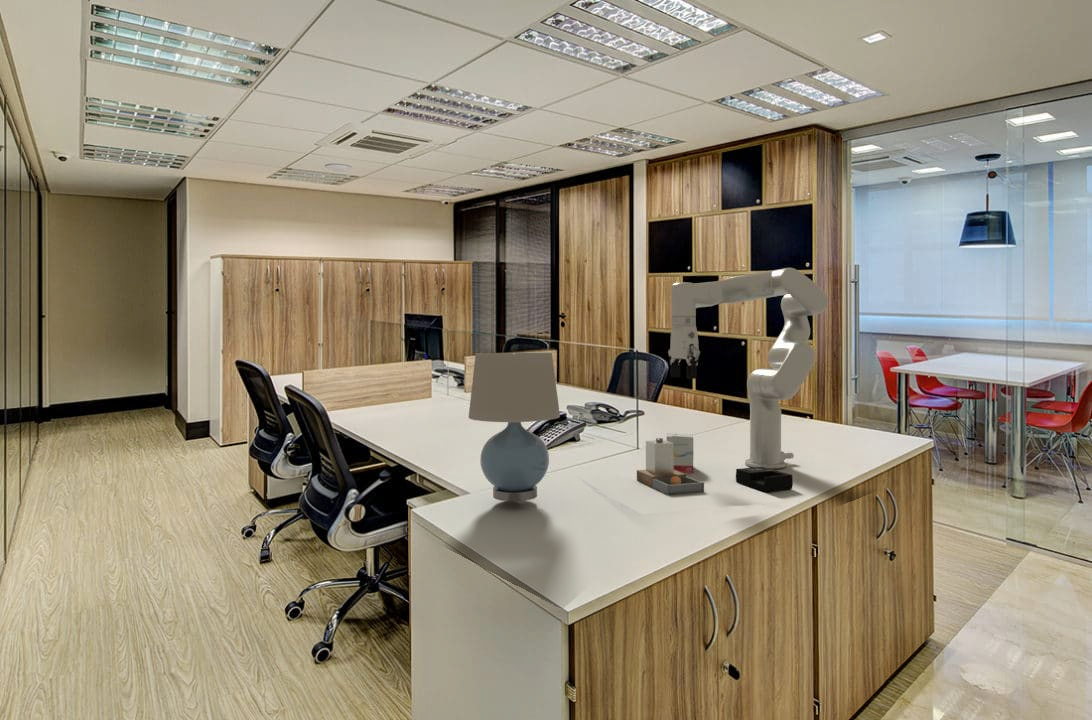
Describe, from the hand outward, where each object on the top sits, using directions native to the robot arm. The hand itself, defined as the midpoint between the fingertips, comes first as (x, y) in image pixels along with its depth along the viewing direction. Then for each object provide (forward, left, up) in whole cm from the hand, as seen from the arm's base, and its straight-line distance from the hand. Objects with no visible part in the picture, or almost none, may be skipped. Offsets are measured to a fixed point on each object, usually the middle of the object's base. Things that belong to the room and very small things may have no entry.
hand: (683, 377), depth 190 cm
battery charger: (-15, +19, -31) cm, 39 cm away
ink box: (-2, -6, -31) cm, 31 cm away
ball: (+12, +16, -28) cm, 34 cm away
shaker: (+12, +6, -27) cm, 30 cm away
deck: (+12, +7, -30) cm, 33 cm away
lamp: (+56, +9, -31) cm, 65 cm away
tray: (+12, +17, -30) cm, 36 cm away
